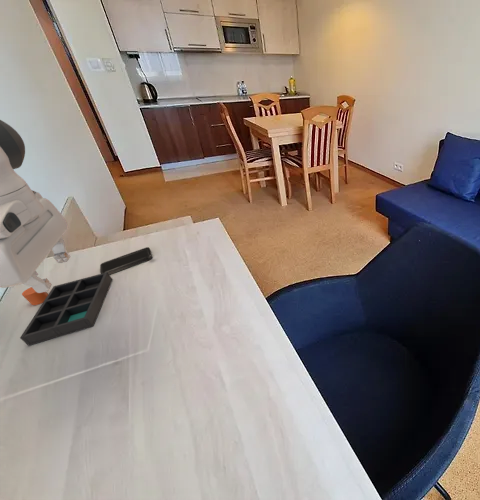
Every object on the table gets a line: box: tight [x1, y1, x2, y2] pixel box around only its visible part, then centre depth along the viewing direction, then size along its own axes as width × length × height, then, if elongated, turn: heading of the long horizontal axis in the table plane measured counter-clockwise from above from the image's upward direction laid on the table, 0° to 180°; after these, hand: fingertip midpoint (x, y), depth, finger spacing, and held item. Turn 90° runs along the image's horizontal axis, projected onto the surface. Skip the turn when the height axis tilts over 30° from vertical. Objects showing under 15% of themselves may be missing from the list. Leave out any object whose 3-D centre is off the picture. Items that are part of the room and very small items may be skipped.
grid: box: [19, 272, 114, 347], centre depth 85 cm, size 14×21×3 cm
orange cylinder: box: [21, 286, 49, 306], centre depth 90 cm, size 4×4×4 cm
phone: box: [99, 246, 153, 276], centre depth 103 cm, size 8×1×15 cm
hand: (55, 274), depth 57 cm, fingers open, 8 cm apart
